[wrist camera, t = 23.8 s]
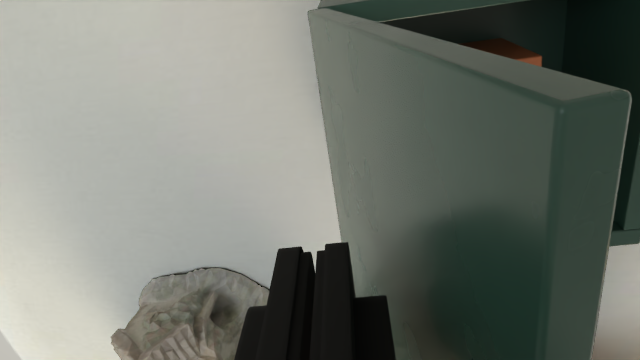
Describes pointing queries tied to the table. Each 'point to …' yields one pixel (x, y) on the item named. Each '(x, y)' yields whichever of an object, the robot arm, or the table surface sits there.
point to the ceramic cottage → (190, 317)
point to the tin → (543, 54)
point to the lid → (470, 190)
